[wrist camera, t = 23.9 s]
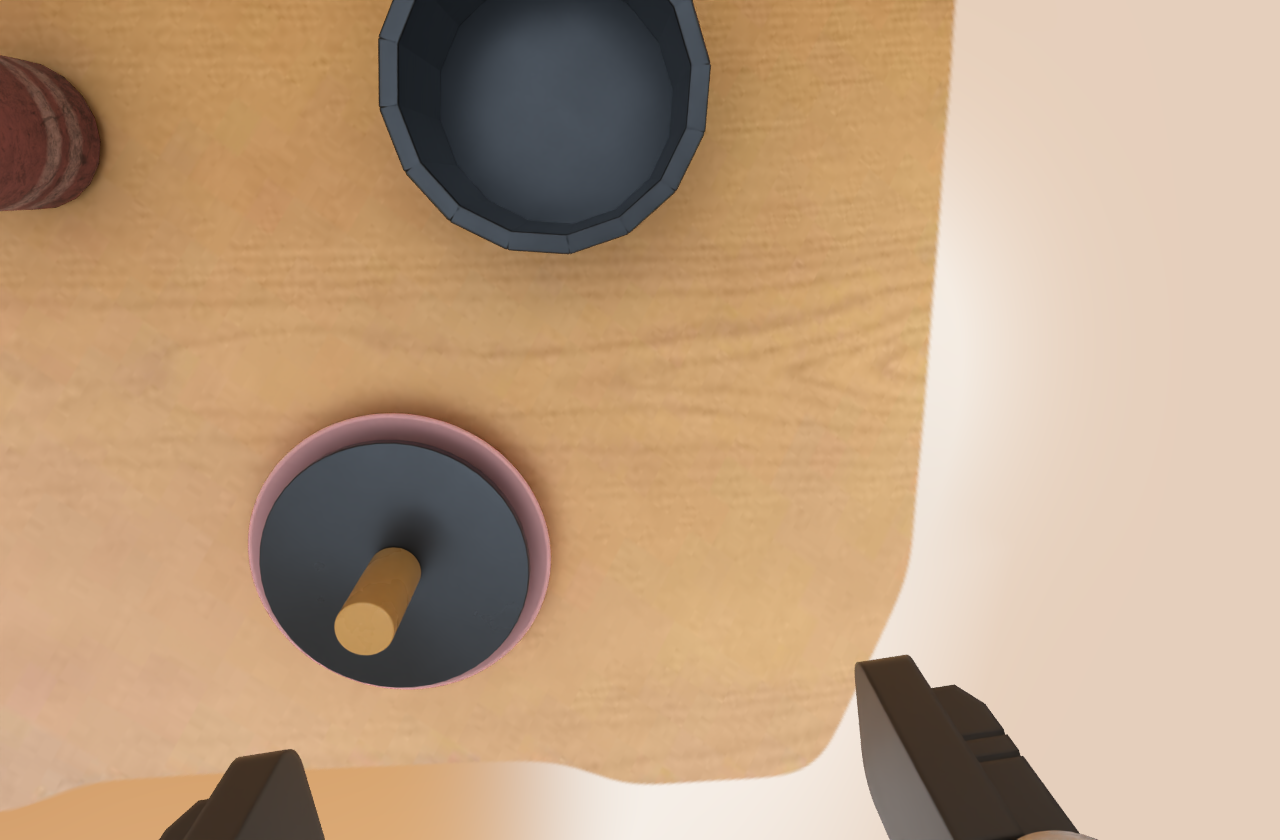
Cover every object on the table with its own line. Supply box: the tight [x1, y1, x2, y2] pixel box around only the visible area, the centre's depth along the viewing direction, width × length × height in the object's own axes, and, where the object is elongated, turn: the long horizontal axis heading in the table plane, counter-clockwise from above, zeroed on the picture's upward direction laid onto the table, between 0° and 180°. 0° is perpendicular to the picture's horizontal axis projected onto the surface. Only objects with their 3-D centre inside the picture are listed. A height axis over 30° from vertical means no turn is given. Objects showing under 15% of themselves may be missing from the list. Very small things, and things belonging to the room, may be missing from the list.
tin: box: [378, 0, 711, 254], centre depth 34 cm, size 11×11×8 cm
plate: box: [248, 413, 551, 689], centre depth 43 cm, size 14×14×2 cm
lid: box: [259, 440, 530, 688], centre depth 38 cm, size 12×12×7 cm
